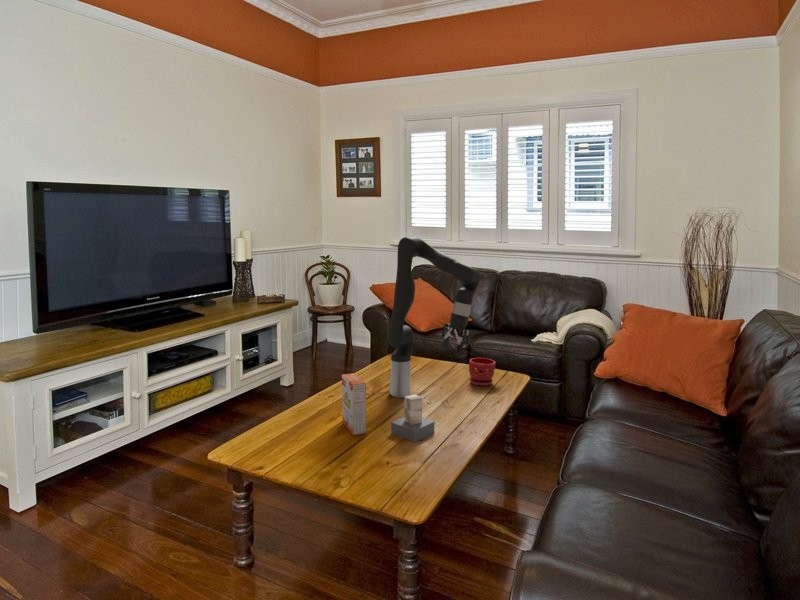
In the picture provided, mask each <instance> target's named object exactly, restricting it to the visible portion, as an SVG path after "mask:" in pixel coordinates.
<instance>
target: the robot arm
mask: <svg viewBox="0 0 800 600" xmlns="http://www.w3.org/2000/svg"><path fill="white" fill-rule="evenodd" d="M396 256H397V263H396V264H397V265H396V266H397V269H396V278H395V286H394V295H393V303H392V304H393V305H392V311H391V318H390V322H389V325H388V330H387V331H388V332H387V340H388V341H387V342H388V343H389V345H390V346H391V347H393V348H395V350H394V351H392V353H391V355H390V358H391V359H390V374H389V394H390V395H391V397H394V398H397V399H398V398H401V399H403V398H404V399H405V396H410V395H411V369H412V365H411V363H412V361H411V360H412V359H411V358H412V355H413V352H414V351H413V350H414V349H413V348H414V332H413V330H412V328H411V327H410V326H408V325H406V324H405V319H406V317H407V315H408V313H409V311H410V310H411V307H412V306H413V304H414V300H415V295H416V294H415V293H416V282H415V279H414V275H413V273H412V267H413V265H412V264H413V259H414V258H415V257H418V258H421V259H424V260H427V261H429V262H430V263H431V264H432V265H433V266H434V267H435V268H436V269H438V270H439V271H441V272H443V273H445V274H447V275H449V276H452V277H453V278H455V279H456V280H457V281H460V283H462V285H461V287H460V288H459V289H458V290H457V292H456V295H455V299H454V303H453V305H452V310H451V313H450V317H449V323H447V322H445V323H444V325H443V328H442V333H441V337H443V343H442V345H443V346H442V347H443V349H448V348H449V344H450V339H451V338H453V337H454V338H455V339H456V341H457V343H458V344H457V347H456V351H455V353H456V354H461V353H463V348H464V346H467V345H468V344H469V339H470V334H471V330H466V327H467V326H468V322H469V319H470V318H469V317H470V315H471V310H472V309H471V307H472V303H473V298H474V295H475V292H476V291H477V288H478V286H479V283H480V280H481V273H480V271H479V270H478V269H477V268H476V267H471V266H469V265H465V264H463V263H461V262H460V261H459V260H458V259H456V258H453V257H451V256H449V255H447V254H445V253H443V252H441V251H439V250H437V249H436V248H434V247H433V246H431V245H430V244H428V243H427V242H426V241H424V240H423V239H421V238H420V237H418V236H415V235H414V236H405V237H402V238H401V239H400V240H399V241H398V245H397V255H396Z"/></svg>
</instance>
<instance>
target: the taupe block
mask: <svg viewBox="0 0 800 600" xmlns="http://www.w3.org/2000/svg"><path fill="white" fill-rule="evenodd" d="M404 417H405V422H407V423H409V424H410V425H413V424H418V423H422V418H423V397H421V396H419V395H418V394H410V396H405V398H404Z"/></svg>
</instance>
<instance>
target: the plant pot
mask: <svg viewBox="0 0 800 600" xmlns="http://www.w3.org/2000/svg"><path fill="white" fill-rule="evenodd" d="M495 369H496V361H495V360H493V359H491V358H486V357H473V358H472V357H471V358H470V359H469V362H468V371H469V375H470V378H469V382H470V383H471V384H473V385H475V386H479V385H480V387H481V386H483V387H486V386H489V385H491V384H492V383H493V376H494V374H495V371H496V370H495Z"/></svg>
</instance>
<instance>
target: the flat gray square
mask: <svg viewBox="0 0 800 600" xmlns="http://www.w3.org/2000/svg"><path fill="white" fill-rule="evenodd" d="M390 426H391V427H390V428H391V431H390V432H391V434H392V435H395V436H398V437H400V438H402V439H405V440H408V441H411V442H414V443H416V442H417V441H420V440H422V439H424V438H426V437H428V436H430V434H431V435H432V433H433V434H435V421H434V420H430V419H428V418H425V417H422V423H418V424H413V425H410V424H409V423H407V422H405V416H404V417H400V418H398V419H396V420H394V421H391V425H390Z"/></svg>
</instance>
